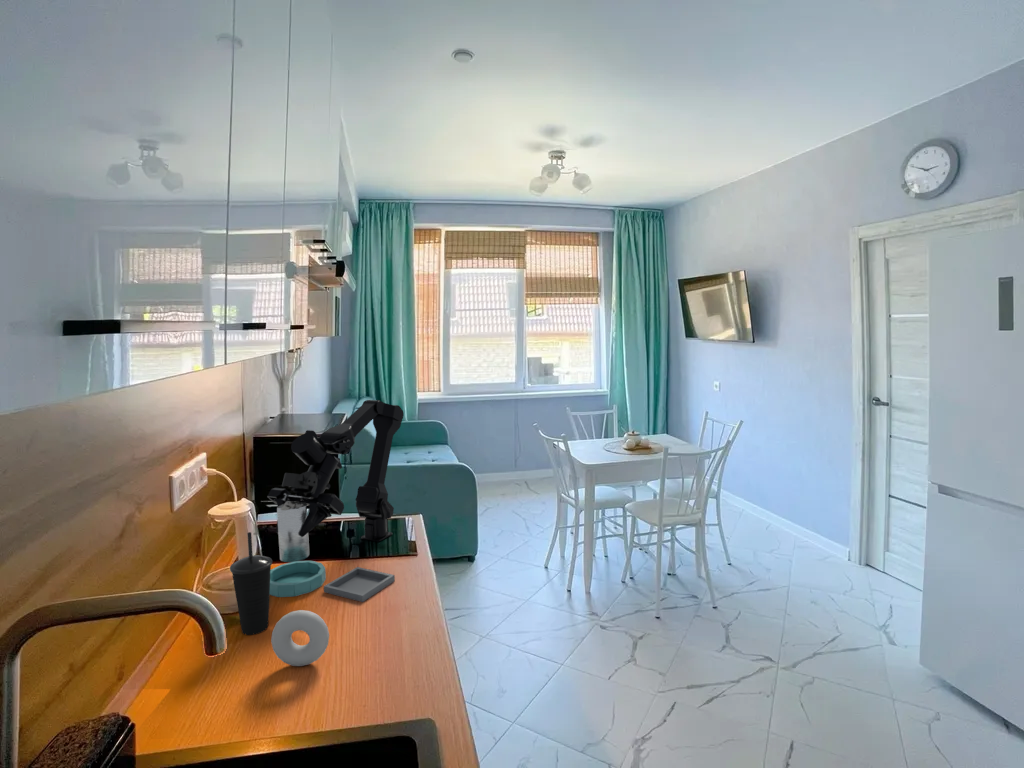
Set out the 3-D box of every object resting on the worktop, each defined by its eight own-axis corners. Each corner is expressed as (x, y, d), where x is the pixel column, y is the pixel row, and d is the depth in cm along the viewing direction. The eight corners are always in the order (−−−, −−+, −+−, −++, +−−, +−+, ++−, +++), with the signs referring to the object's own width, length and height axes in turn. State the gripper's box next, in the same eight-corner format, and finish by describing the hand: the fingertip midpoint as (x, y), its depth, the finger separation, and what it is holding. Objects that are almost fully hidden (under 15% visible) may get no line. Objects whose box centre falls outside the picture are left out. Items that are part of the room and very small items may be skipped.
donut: (332, 657, 101) (330, 605, 100) (327, 668, 98) (325, 614, 97) (276, 660, 100) (273, 607, 99) (269, 672, 97) (266, 617, 96)
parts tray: (357, 575, 135) (357, 566, 135) (394, 583, 130) (394, 575, 130) (324, 595, 125) (323, 586, 125) (362, 605, 120) (362, 595, 120)
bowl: (297, 570, 138) (296, 557, 138) (336, 580, 132) (336, 566, 132) (253, 593, 126) (252, 578, 126) (294, 604, 121) (293, 589, 120)
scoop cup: (304, 548, 133) (301, 495, 132) (312, 556, 128) (309, 502, 127) (276, 555, 129) (273, 501, 128) (284, 564, 124) (280, 508, 123)
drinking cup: (265, 639, 107) (259, 539, 105) (226, 639, 107) (219, 540, 105) (282, 618, 115) (276, 525, 113) (246, 618, 115) (240, 526, 113)
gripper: (270, 455, 133) (236, 514, 124) (333, 460, 127) (303, 523, 118) (295, 478, 142) (265, 535, 132) (356, 484, 135) (329, 544, 126)
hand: (289, 534), depth 127 cm, fingers closed on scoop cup, 6 cm apart
